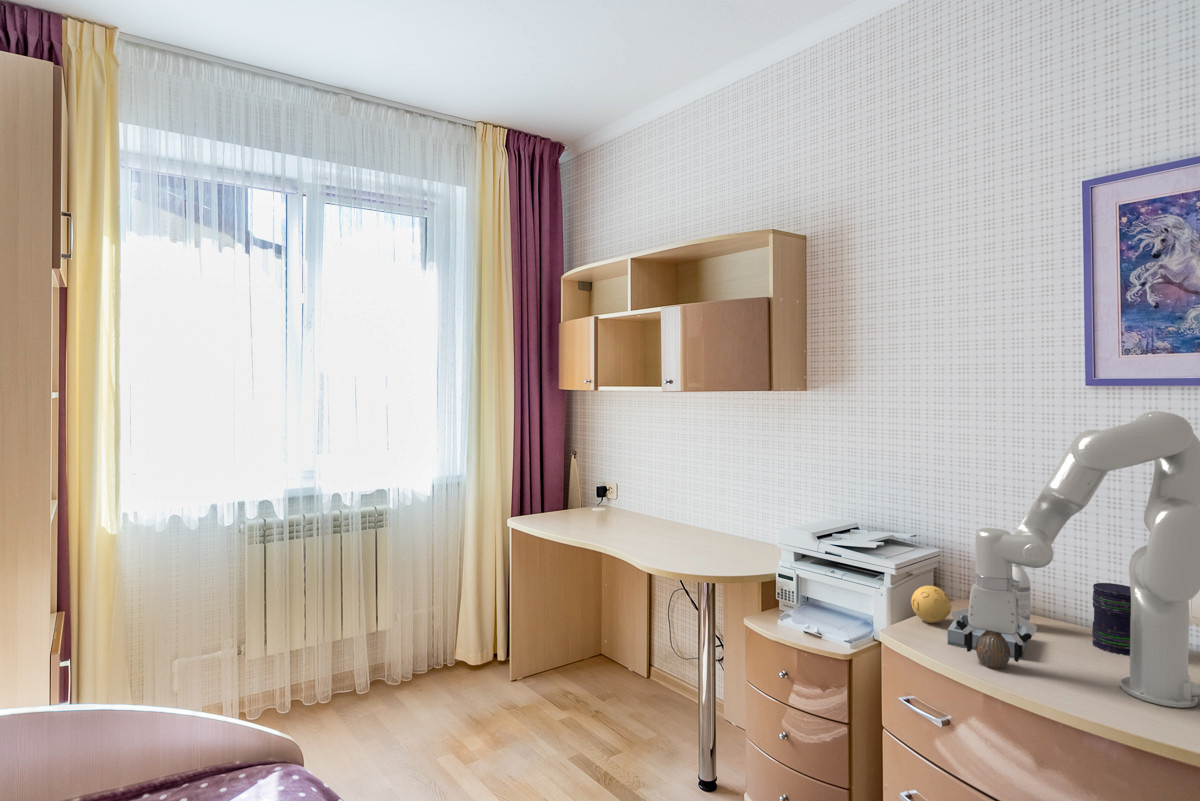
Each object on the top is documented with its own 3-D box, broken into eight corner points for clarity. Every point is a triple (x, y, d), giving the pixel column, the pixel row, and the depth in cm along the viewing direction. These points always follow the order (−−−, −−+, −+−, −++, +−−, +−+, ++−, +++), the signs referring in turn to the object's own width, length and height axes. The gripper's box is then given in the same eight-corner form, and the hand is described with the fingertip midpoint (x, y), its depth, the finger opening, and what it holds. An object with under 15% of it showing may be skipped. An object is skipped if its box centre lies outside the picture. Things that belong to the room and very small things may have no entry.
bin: (1028, 639, 173) (1028, 625, 173) (1021, 659, 161) (1021, 643, 160) (959, 626, 183) (959, 612, 183) (947, 644, 170) (947, 629, 170)
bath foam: (999, 619, 188) (1000, 548, 188) (1028, 623, 185) (1029, 551, 185) (1001, 627, 182) (1001, 554, 182) (1031, 631, 179) (1032, 557, 179)
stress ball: (914, 618, 192) (897, 600, 188) (935, 591, 193) (918, 572, 189) (943, 635, 183) (925, 617, 179) (964, 607, 184) (947, 588, 180)
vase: (1014, 672, 153) (1015, 634, 153) (981, 670, 155) (982, 632, 154) (1003, 660, 160) (1003, 624, 160) (971, 658, 161) (972, 622, 161)
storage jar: (1091, 637, 175) (1091, 580, 174) (1139, 645, 169) (1140, 586, 169) (1092, 650, 166) (1093, 590, 166) (1143, 658, 161) (1144, 597, 161)
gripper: (1039, 585, 155) (1038, 658, 155) (955, 572, 165) (954, 641, 165) (1036, 592, 149) (1035, 669, 149) (949, 579, 159) (948, 650, 160)
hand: (992, 654), depth 157 cm, fingers open, 9 cm apart
